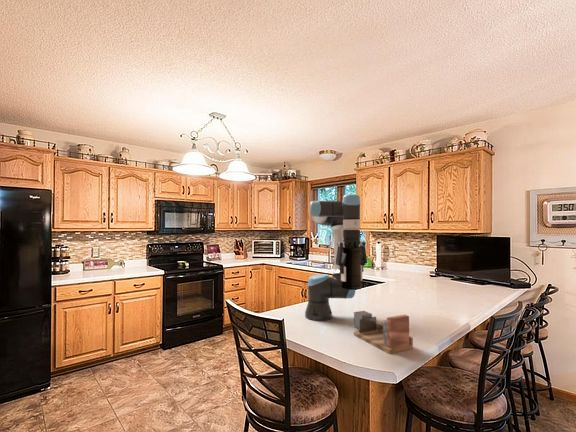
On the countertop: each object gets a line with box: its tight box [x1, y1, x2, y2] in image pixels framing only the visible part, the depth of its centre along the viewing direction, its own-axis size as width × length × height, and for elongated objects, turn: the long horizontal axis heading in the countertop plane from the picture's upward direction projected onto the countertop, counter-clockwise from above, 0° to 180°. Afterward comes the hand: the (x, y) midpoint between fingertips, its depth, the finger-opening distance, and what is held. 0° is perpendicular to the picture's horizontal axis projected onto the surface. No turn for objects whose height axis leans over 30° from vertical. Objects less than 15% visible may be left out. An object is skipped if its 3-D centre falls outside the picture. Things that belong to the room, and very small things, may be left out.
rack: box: [353, 314, 414, 355], centre depth 138 cm, size 23×13×14 cm, turn 26°
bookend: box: [353, 310, 377, 333], centre depth 149 cm, size 7×10×8 cm
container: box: [342, 246, 363, 291], centre depth 138 cm, size 9×9×18 cm
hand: (351, 280), depth 137 cm, fingers closed on container, 8 cm apart
